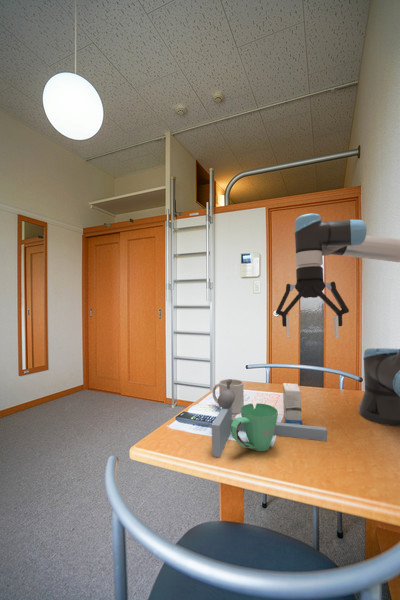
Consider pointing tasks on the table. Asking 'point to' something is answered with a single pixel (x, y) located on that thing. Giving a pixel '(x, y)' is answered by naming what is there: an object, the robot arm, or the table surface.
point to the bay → (223, 429)
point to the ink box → (292, 404)
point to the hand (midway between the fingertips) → (311, 337)
